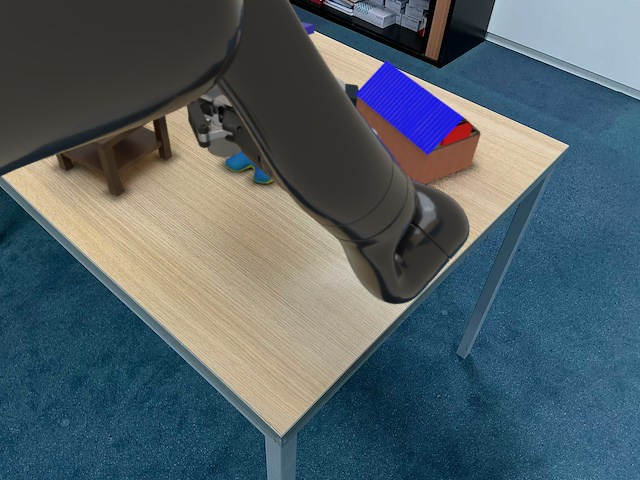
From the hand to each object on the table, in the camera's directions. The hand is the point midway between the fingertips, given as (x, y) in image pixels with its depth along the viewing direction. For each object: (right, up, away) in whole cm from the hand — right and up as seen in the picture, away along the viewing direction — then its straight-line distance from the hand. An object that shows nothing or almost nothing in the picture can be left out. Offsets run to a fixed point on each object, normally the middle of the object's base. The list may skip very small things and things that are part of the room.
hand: (208, 80), depth 64 cm
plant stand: (-20, -6, +25) cm, 33 cm away
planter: (+1, -7, +4) cm, 9 cm away
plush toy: (+5, -4, +30) cm, 30 cm away
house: (+29, -2, +33) cm, 45 cm away
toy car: (+13, +7, +41) cm, 44 cm away
